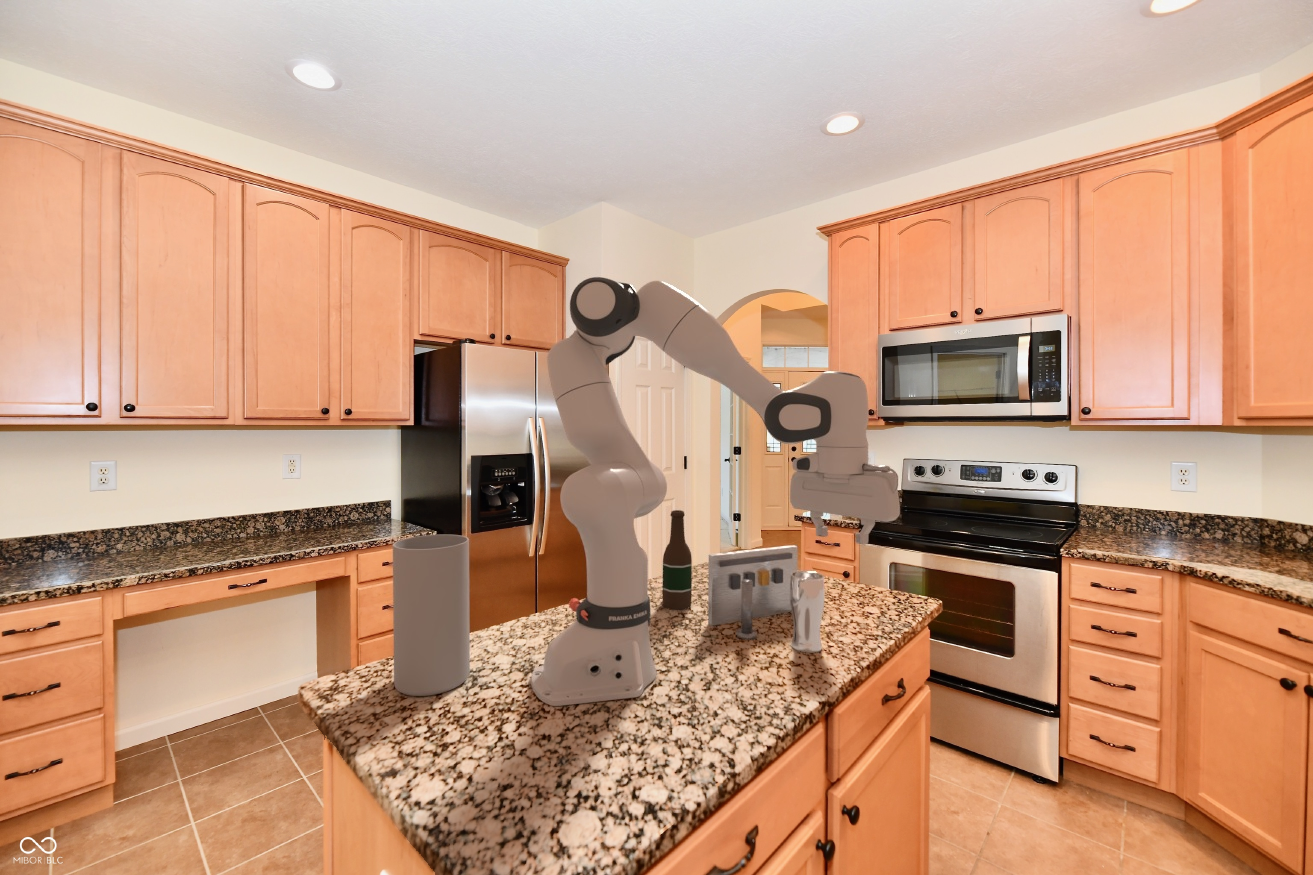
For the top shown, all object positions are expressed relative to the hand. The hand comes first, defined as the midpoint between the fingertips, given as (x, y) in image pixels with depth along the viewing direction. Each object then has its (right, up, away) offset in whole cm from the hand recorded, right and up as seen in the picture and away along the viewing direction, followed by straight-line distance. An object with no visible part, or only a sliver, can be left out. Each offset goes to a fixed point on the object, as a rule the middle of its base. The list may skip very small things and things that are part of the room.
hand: (841, 539), depth 98 cm
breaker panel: (-10, -24, +32) cm, 42 cm away
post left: (-14, -25, +21) cm, 35 cm away
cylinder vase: (-73, -25, 0) cm, 77 cm away
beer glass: (-2, -25, +15) cm, 29 cm away
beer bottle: (-28, -24, +41) cm, 55 cm away
